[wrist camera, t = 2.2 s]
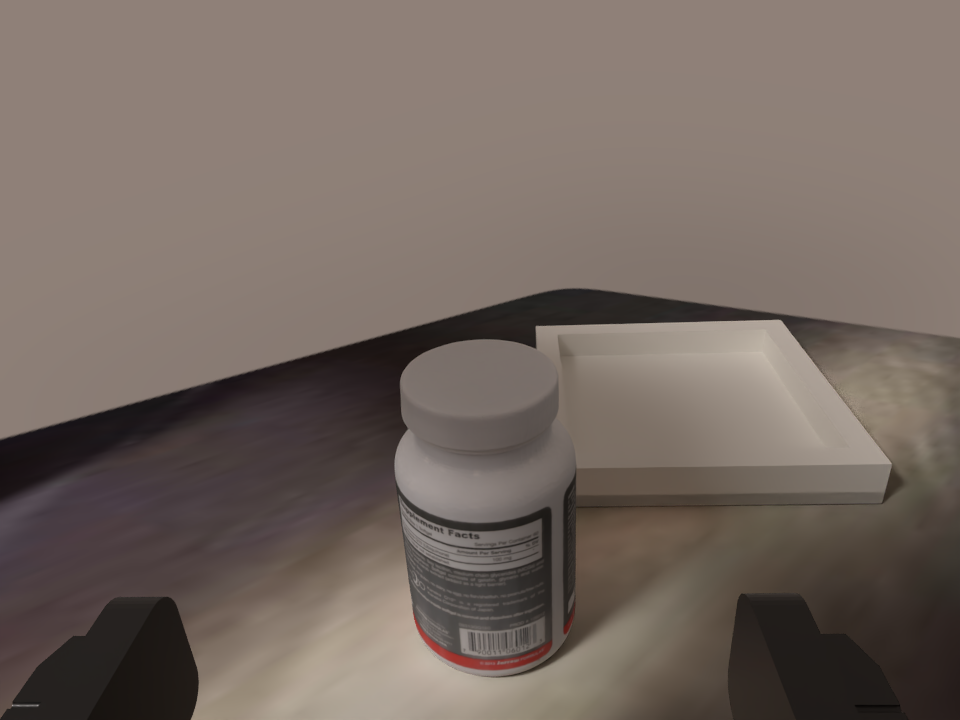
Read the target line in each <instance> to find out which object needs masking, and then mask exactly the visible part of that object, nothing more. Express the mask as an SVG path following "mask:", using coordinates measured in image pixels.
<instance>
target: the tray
mask: <svg viewBox="0 0 960 720" xmlns="http://www.w3.org/2000/svg"><path fill="white" fill-rule="evenodd" d="M536 349H537V350H538V351H540V352H542V353H543V354H545V355H546V356H547V357H548V358H549V359H550V360H551V361H552V362H553V363H554V365H555V367H556V369H557V372H558V383H559V409H558V413H557V416H556V419H557V420H559V421H560V422H561V424H562V425H563V426H564V427H565V429H566V430H567V431H568V433H569V435H570V437H571V440H572V442H573V445H574V449H575V456H576V507H595V506H690V505H784V504H879V503H882V501H883V498H884V494H885V490H886V486H887V482H888V478H889V475H890V471H891V467H892V463H891V462H890V461H889V459H888V458H887V457H886V455H885V454H884V453H883V452H882V450H881V449H880V448H879V446H878V445H877V444H876V443H875V441H874V440H873V439H872V437H871V436H870V435H869V433H868V432H867V431H866V430H865V428H864V427H863V426H862V424H861V423H860V422H859V421H858V419H857V418H856V417H855V415H854V414H853V413H852V412H851V410H850V409H849V408H848V406H847V405H846V404H845V403H844V401H843V400H842V399H841V397H840V396H839V395H838V394H837V392H836V391H835V390H834V388H833V387H832V386H831V385H830V383H829V382H828V381H827V379H826V378H825V377H824V375H823V374H822V373H821V372H820V370H819V369H818V368H817V366H816V365H815V364H814V363H813V361H812V360H811V359H810V357H809V356H808V355H807V354H806V352H805V351H804V350H803V348H802V347H801V346H800V345H799V343H798V342H797V341H796V339H795V338H794V337H793V336H792V334H791V333H790V332H789V330H788V329H787V328H786V326H785V325H784V324H783V323H782V321H781V320H761V321H722V322H683V323H644V324H604V325H565V326H536Z"/></svg>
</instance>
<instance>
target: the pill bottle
mask: <svg viewBox="0 0 960 720" xmlns="http://www.w3.org/2000/svg"><path fill="white" fill-rule="evenodd" d="M400 393H401V414H402V418H403V421H404V423H405V425H406V426H407V427H408V428H409V429H408V430H407V431H406V432H405V434H404V435H403V437H402V439H401V440H400V443H399V445H398V447H397V451H396V455H395V480H396V488H397V495H398V503H399V510H400V517H401V525H402V532H403V539H404V547H405V554H406V562H407V570H408V577H409V584H410V592H411V599H412V607H413V615H414V620H415V624H416V627H417V630H418V633H419V635H420V637H421V639H422V641H423V642H424V644H425V645H426V647H427V648H428V649H429V650H430V651H431V652H432V654H433V655H434V656H436V657H437V658H438V659H439V660H441V661H442V662H444V663H445V664H447V665H448V666H450V667H452V668H454V669H457V670H459V671H462V672H465V673H469V674H473V675H478V676H489V677H497V676H507V675H513V674H517V673H520V672H523V671H526V670H529V669H531V668H533V667H535V666H537V665H539V664H541V663H542V662H544V661H545V660H547V659H548V658H549V657H550V656H552V655H553V654H554V653H555V652H556V651H557V650H558V649H559V648H560V646H561V645H562V644H563V642H564V641H565V639H566V638H567V636H568V634H569V632H570V629H571V627H572V624H573V619H574V613H575V568H576V456H575V449H574V445H573V442H572V440H571V437H570V435H569V433H568V431H567V430H566V429H565V427H564V426H563V425H562V424H561V422H560V421H559V420H557V419H556V416H557V413H558V409H559V383H558V372H557V369H556V367H555V365H554V363H553V362H552V361H551V360H550V359H549V358H548V357H547V356H546V355H545V354H543V353H542V352H540V351H538V350H537V349H535V348H532V347H530V346H527V345H524V344H520V343H516V342H511V341H504V340H489V339H482V340H468V341H461V342H455V343H450V344H447V345H443V346H440V347H437V348H434V349H432V350H429V351H427V352H425V353H423V354H421V355H419V356H418V357H416V358H415V359H414V360H412V361H411V362H410V363H409V364H408V365H407V367H406V368H405V369H404V371H403V373H402V375H401V379H400Z"/></svg>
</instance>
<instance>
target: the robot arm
mask: <svg viewBox="0 0 960 720" xmlns="http://www.w3.org/2000/svg"><path fill="white" fill-rule="evenodd" d="M198 685H199V680H198V671H197V667H196V664H195V660H194V657H193V654H192V651H191V648H190V645H189V642H188V639H187V636H186V633H185V630H184V627H183V624H182V621H181V618H180V615H179V612H178V609H177V606H176V604H175V602H174V600H172V599H171V598H169V597H118V598H114V599H113V600H111V601H110V602H109V603H108V604H107V605H106V606H105V608H104V609H103V611H102V612H101V614H100V615H99V616H98V618H97V619H96V621H95V622H94V624H93V625H92V627H91V628H90V630H89V631H88V633H87V634H86V636H73V637H72V638H70V639H69V640H68V641H67V642H66V643H65V644H63V645H62V646H61V647H60V648H59V649H57V650H56V651H55V652H54V653H53V654H52V655H50V656H49V657H48V658H47V659H46V660H45V661H43V662H42V663H41V664H40V665H39V666H38V667H37V668H36V669H35V671H34V672H33V674H32V675H31V676H30V678H29V679H28V681H27V682H26V683H25V685H24V686H23V688H22V689H21V691H20V692H19V693H18V695H17V696H16V698H15V699H14V700H13V706H12V708H11V709H7V710H6V712H5V713H4V714H3V716H2V717H1V719H0V720H191V717H192V715H193V712H194V709H195V706H196V701H197V696H198ZM728 690H729V698H730V705H731V710H732V715H733V719H734V720H908V718H907V716H906V715H905V713H902V712H901V709H900V704H899V702H898V700H897V698H896V696H895V694H894V692H893V691H892V689H891V687H890V685H889V683H888V681H887V679H886V678H885V676H884V674H883V672H882V670H881V668H880V666H879V665H878V664H876V663H875V662H874V661H873V660H872V659H871V658H870V657H869V656H868V655H867V654H866V653H865V652H864V651H863V650H862V649H861V648H860V647H859V646H858V645H857V644H856V643H855V642H854V641H853V640H851V639H850V638H849V637H848V636H847V635H846V634H820V631H819V629H818V627H817V625H816V623H815V621H814V619H813V617H812V615H811V612H810V610H809V608H808V606H807V604H806V602H805V600H804V599H803V598H802V596H801V595H800V594H798V593H752V594H741V595H740V596H739V599H738V603H737V609H736V616H735V624H734V631H733V638H732V646H731V653H730V660H729V668H728Z"/></svg>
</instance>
